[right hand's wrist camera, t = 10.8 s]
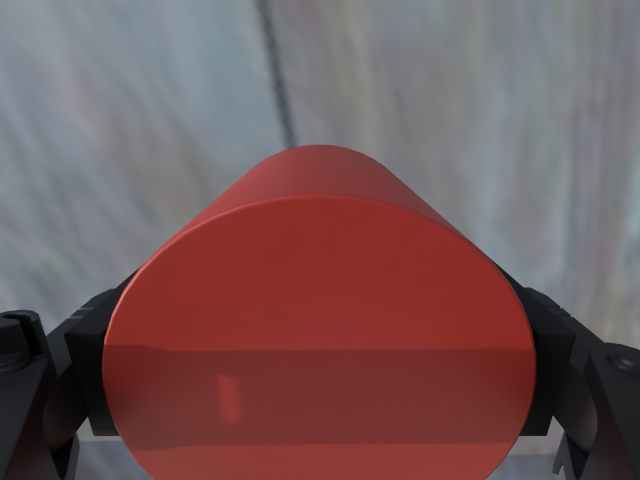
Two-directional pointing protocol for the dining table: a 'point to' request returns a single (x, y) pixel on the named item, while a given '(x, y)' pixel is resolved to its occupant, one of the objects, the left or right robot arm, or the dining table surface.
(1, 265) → the dining table surface
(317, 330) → the canister
